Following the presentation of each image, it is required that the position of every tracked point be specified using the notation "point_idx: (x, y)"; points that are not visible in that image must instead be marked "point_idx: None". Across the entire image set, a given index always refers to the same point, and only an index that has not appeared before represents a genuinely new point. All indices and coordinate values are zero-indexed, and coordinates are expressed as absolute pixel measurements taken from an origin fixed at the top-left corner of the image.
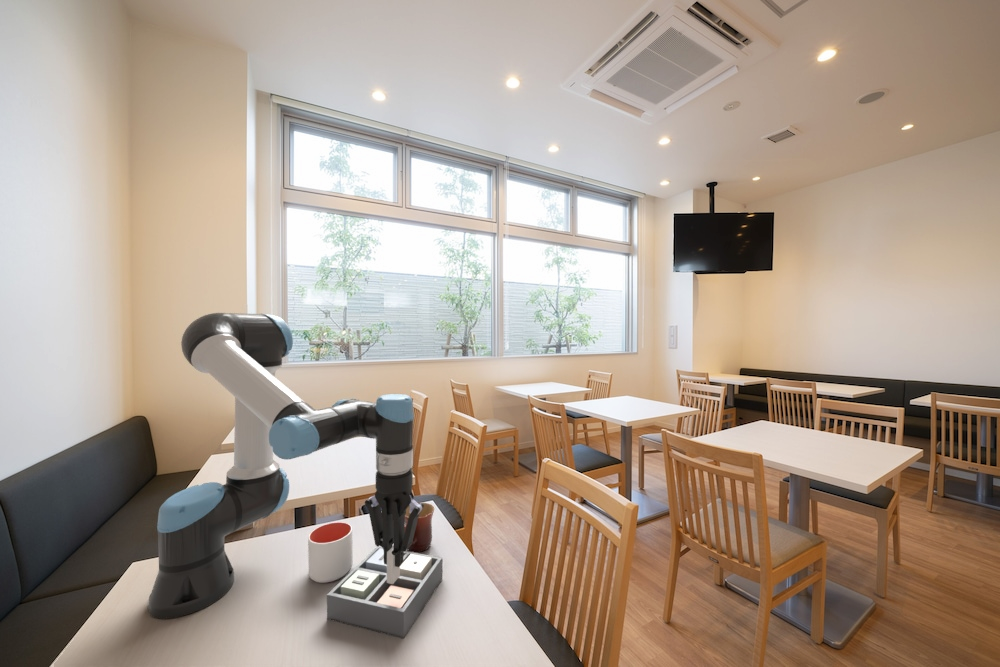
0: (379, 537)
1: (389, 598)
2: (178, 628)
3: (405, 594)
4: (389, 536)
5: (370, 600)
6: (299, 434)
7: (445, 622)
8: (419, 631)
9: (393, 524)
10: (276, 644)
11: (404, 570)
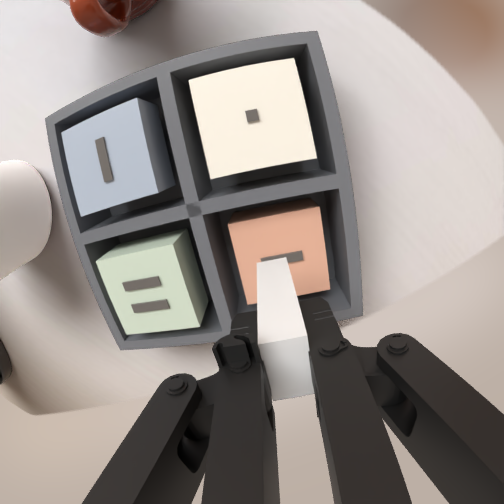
0: (206, 460)
1: None
2: (27, 382)
3: (306, 236)
4: (274, 457)
5: (231, 315)
6: None
7: (407, 200)
8: (366, 250)
9: (266, 493)
10: (131, 378)
11: (240, 171)
